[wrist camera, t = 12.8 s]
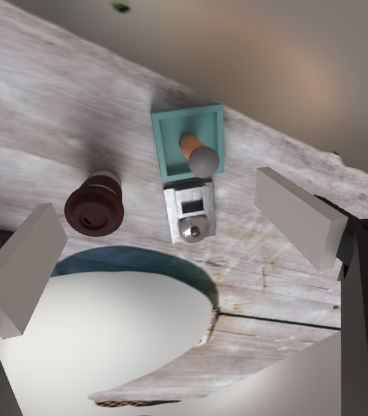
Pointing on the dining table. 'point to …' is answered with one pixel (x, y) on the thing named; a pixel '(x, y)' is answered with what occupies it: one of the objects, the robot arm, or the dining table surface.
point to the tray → (181, 124)
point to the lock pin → (199, 156)
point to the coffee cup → (96, 205)
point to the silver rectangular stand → (190, 211)
